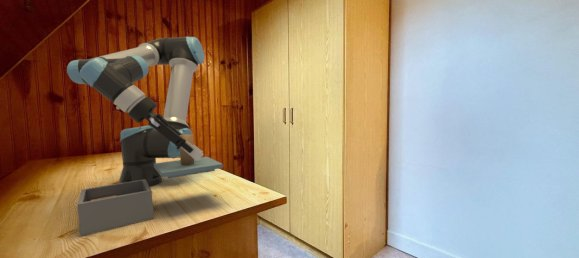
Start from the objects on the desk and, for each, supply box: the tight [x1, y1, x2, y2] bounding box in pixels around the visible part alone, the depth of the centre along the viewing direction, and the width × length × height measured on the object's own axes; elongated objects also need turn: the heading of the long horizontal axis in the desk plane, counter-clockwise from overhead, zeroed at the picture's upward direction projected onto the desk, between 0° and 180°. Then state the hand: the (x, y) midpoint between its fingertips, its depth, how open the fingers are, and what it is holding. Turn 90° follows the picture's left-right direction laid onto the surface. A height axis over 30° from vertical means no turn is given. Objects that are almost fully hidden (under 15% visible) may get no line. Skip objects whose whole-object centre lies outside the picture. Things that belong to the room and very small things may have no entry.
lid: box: [154, 134, 224, 179], centre depth 81 cm, size 15×17×11 cm
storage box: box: [76, 179, 155, 237], centre depth 74 cm, size 14×16×8 cm
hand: (200, 156), depth 83 cm, fingers closed on lid, 4 cm apart
